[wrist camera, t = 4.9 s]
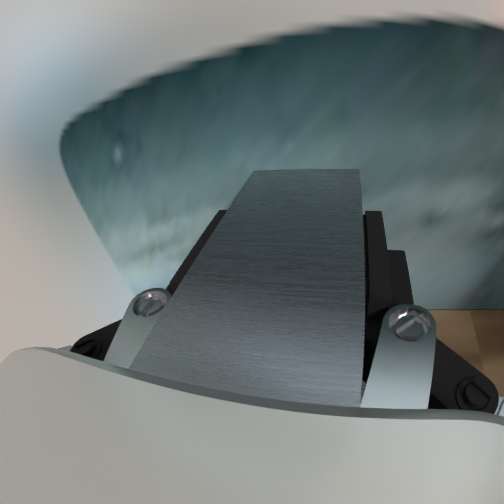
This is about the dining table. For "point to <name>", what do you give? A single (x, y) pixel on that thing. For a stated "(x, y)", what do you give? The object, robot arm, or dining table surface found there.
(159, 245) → the dining table surface
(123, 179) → the dining table surface
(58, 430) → the robot arm
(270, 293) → the square bit
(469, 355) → the socket block
